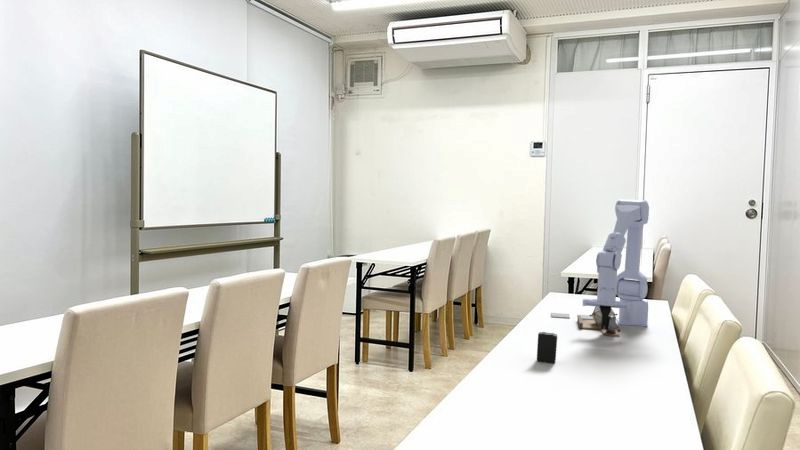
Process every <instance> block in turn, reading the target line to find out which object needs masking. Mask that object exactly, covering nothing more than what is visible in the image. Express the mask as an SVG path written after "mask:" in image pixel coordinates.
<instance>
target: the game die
mask: <svg viewBox="0 0 800 450" xmlns="http://www.w3.org/2000/svg"><path fill="white" fill-rule="evenodd" d="M589 316H592V317H593V319H594V321H595V322H596V324H597V325H601V320H602V313H601V310H600V308H599V307H598V306H594V310H593V311H592V313H591V314H589ZM608 316H619V313H615V312H614V310H613V309H612V308H611V312H610V314H609V315H608Z"/></svg>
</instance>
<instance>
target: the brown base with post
mask: <svg viewBox="0 0 800 450" xmlns="http://www.w3.org/2000/svg"><path fill="white" fill-rule="evenodd" d="M577 315H578V316H577V325H578V328H579V330H589V331H590V330H592V331H601V333H602V335H603V336H604V337H606V336H607V337H620V332H621V329H620V326H619V325H618V322H617V315H615V316H608V320H607V322H608V328H607V330H605V325H604V329H601V325H597V324H596V322H595V321H594V320H582V319H581V316H580V315H581V314H577Z"/></svg>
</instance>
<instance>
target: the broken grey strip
mask: <svg viewBox="0 0 800 450" xmlns="http://www.w3.org/2000/svg"><path fill="white" fill-rule="evenodd" d="M550 314H551V315H550V316H551V318H555V319H556V318H557V319H568V320H569V319H571V317H570V313H561V312H560V313H559V312H551V313H550ZM576 315H577V317H578V315H580V316H581V319H582V320H594V319H593V317H592V316H589V315H590V314H589V315H588V314H576Z"/></svg>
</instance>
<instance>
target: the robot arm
mask: <svg viewBox="0 0 800 450" xmlns="http://www.w3.org/2000/svg"><path fill="white" fill-rule="evenodd" d="M614 210H615V211H614V212H615V216H616V222H615V225H614V228H613V231H612V232H611V233H609V234H608V236H607V238H606V241H605V244H604V245H603V248H602V250H601V251H599V252H598V253H597V254H596V259H595V264H596V272H597V274H598V276H597V293H596V294H597V295H596V296H597V297H596V299H594V298H593V299H592V298H589V299H588V298H583V299H582V306H583V307H586V306H587V307H588V306H589V307H596V306H598V307H599V308H600V310H601V313H602V320H601V329H604V325H605V330H607V328H608V322H607V320H608V315H609V314H610V312H611V308H614V309H619V311H618V312H619V313H618V318H617V317H616V322H617V324H619V325H622V326H623V325H624V326H625V325H626V326H635V327H636V326H637V327H638V326H639V327H648V326H649V324H648V322H649V301H648V299H645V298H646V297H647V294H648V291H649V290H648V289H649V288H648V287H649V286H648V279H647V278H648V277H647V276H645V275H644V273H642V272H641V271H640V266H641V264H640V263H641V254H642V253H641V250H642V239H643V227H644V225H646V224H648V223H649V216H650V214H649V213H650V206H649V202H648V201H647V200H646V199H643V200H640V199H622V198H619V199H618V200H617V201H616V203H615V208H614ZM626 234H627V235H626ZM625 235H626V238H625ZM625 244H626V248H625V260H624V262H625V263H624V271H623V270H622V271H621V272H620V273H618V270H619V269H620V266H621V263H622V258H623V257H622V256H623V255H622V252H623V250H624V246H625ZM616 297H618V298H619V300H616Z"/></svg>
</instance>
